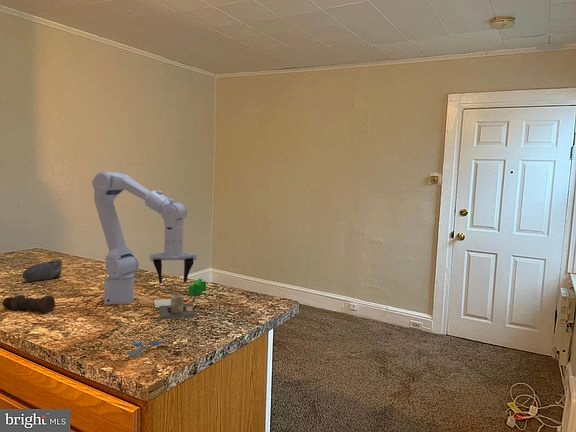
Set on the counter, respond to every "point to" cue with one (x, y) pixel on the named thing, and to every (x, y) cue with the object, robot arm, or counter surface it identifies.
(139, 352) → the key chain
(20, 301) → the dark brown elongated lump
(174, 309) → the birch peg
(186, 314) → the plate
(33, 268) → the perforated stone tool
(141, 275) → the counter surface
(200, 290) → the pipe clamp
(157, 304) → the white rectangular plate
